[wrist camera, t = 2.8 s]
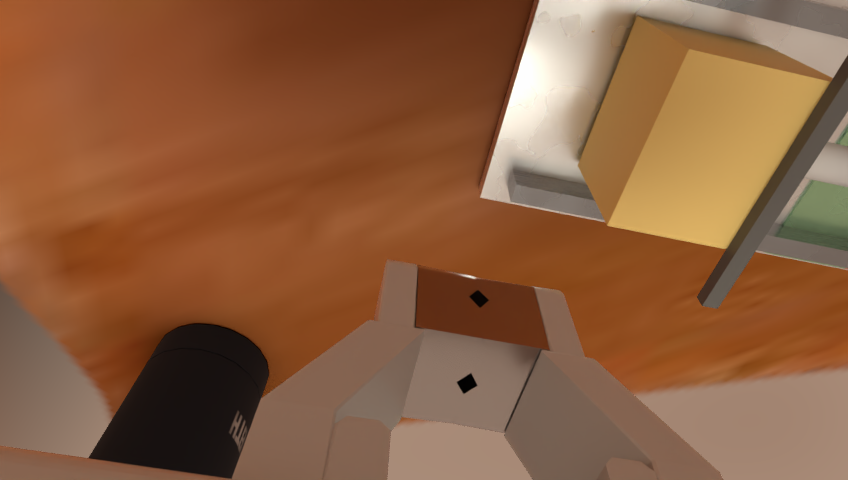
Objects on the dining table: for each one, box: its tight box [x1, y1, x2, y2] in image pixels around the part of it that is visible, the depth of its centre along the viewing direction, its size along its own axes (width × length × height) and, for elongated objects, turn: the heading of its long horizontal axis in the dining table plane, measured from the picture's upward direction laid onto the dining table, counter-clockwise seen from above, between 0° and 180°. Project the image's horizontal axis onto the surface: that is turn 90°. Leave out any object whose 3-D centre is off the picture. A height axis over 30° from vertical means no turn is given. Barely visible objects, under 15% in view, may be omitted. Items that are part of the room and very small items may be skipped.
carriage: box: [578, 16, 848, 309], centre depth 19 cm, size 10×9×5 cm
